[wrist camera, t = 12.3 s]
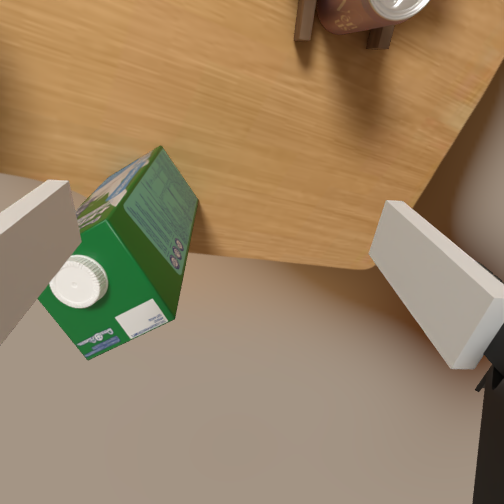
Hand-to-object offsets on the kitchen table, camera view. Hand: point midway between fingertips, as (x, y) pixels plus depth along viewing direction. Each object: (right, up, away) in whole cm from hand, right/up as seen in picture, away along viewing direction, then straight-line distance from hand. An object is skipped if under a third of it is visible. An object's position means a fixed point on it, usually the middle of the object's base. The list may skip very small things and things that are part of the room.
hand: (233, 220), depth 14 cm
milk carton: (-13, +8, +32) cm, 35 cm away
